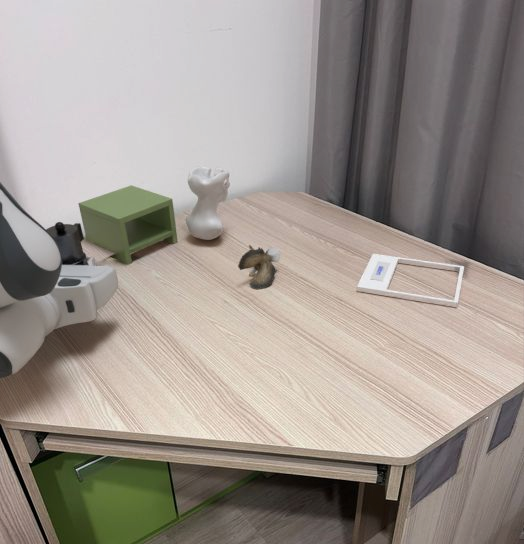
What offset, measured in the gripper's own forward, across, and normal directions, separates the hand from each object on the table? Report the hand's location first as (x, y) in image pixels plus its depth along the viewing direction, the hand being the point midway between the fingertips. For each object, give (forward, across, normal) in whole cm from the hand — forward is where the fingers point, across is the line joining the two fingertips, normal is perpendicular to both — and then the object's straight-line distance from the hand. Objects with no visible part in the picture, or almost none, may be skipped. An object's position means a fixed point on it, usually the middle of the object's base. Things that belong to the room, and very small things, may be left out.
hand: (71, 260), depth 94 cm
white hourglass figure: (+31, +19, -9) cm, 38 cm away
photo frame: (+13, +61, -9) cm, 63 cm away
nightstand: (+26, +2, -9) cm, 28 cm away
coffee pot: (+1, 0, -9) cm, 9 cm away
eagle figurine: (+13, +31, -9) cm, 35 cm away
